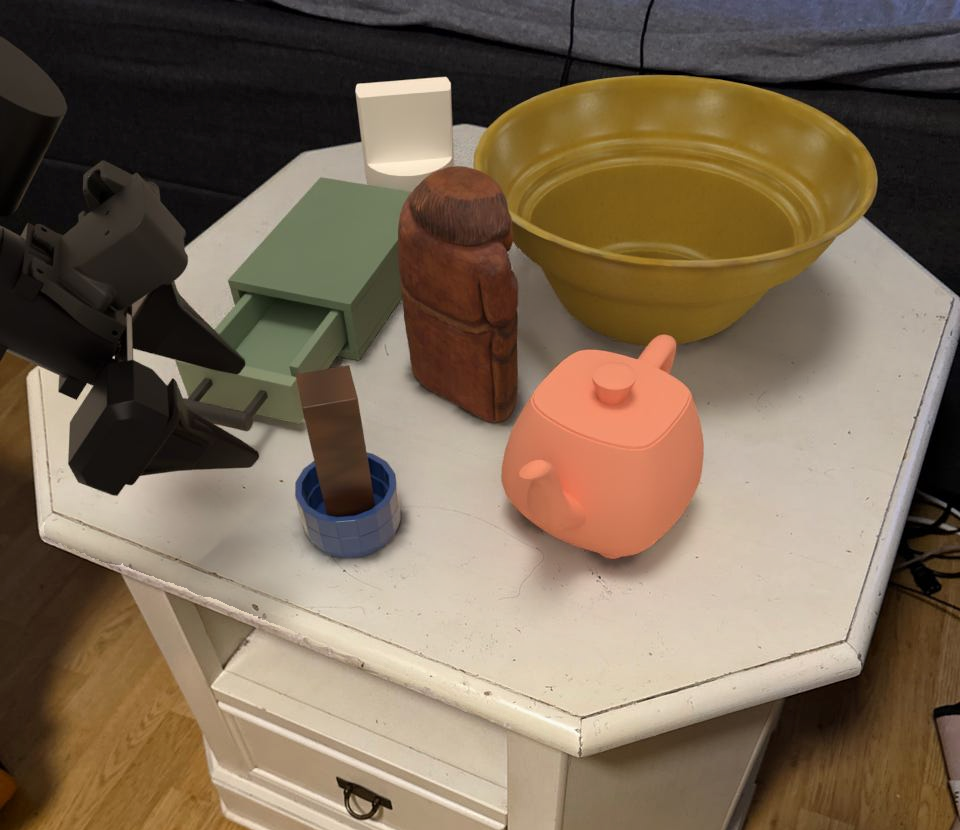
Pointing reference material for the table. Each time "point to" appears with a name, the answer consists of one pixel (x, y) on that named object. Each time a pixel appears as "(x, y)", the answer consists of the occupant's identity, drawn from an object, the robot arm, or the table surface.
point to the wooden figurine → (461, 290)
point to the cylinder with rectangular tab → (405, 130)
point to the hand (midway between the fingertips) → (248, 411)
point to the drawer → (265, 360)
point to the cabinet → (333, 257)
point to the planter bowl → (672, 197)
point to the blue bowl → (350, 531)
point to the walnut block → (337, 440)
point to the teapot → (607, 450)
